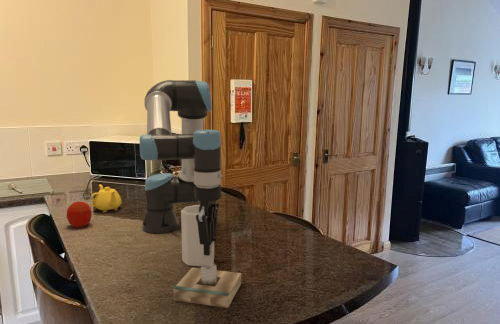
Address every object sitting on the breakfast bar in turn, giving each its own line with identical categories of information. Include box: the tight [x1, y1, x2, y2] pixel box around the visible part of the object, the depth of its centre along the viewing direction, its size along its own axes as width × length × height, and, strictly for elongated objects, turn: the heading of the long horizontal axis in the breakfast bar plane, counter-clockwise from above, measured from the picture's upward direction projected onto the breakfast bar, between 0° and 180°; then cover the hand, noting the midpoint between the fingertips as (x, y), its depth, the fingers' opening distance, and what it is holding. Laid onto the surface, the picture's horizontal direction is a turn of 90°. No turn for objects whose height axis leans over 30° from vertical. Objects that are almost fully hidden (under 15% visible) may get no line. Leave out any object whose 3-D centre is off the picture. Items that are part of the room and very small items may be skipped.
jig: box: [172, 266, 242, 309], centre depth 113 cm, size 16×14×4 cm
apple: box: [66, 200, 93, 229], centre depth 167 cm, size 10×10×12 cm
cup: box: [180, 204, 203, 267], centre depth 133 cm, size 11×11×18 cm
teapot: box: [90, 184, 123, 214], centre depth 191 cm, size 20×15×12 cm
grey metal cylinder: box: [200, 263, 217, 287], centre depth 112 cm, size 5×5×8 cm
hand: (208, 263), depth 111 cm, fingers closed
